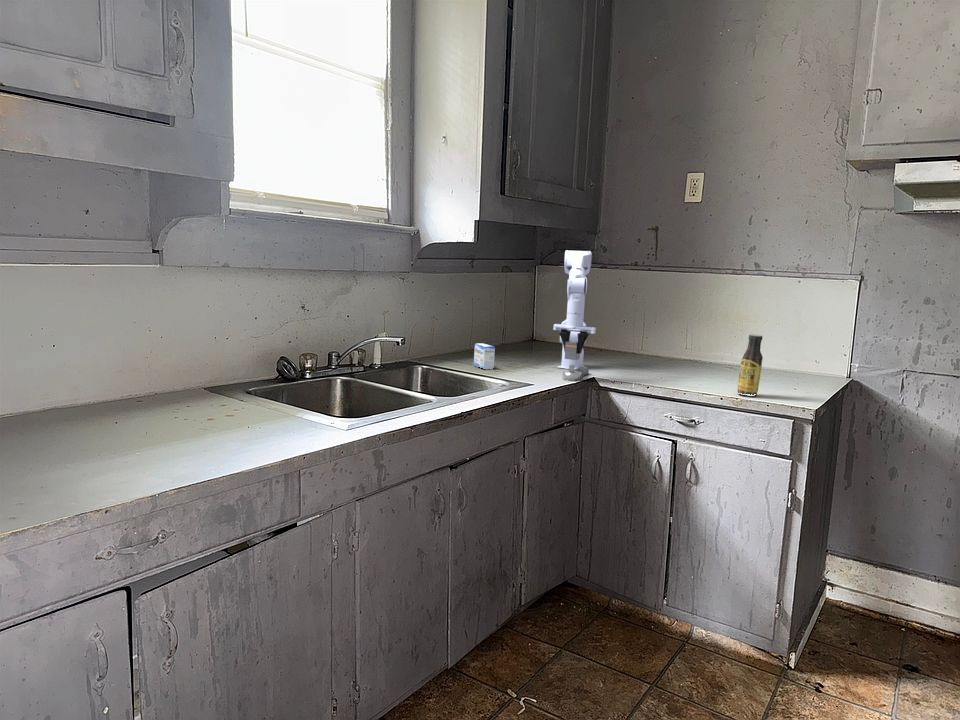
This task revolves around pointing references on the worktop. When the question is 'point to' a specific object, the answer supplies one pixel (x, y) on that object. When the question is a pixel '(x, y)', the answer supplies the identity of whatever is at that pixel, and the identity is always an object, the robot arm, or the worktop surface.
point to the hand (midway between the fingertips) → (572, 352)
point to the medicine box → (484, 356)
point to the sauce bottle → (751, 366)
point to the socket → (571, 350)
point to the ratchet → (574, 373)
